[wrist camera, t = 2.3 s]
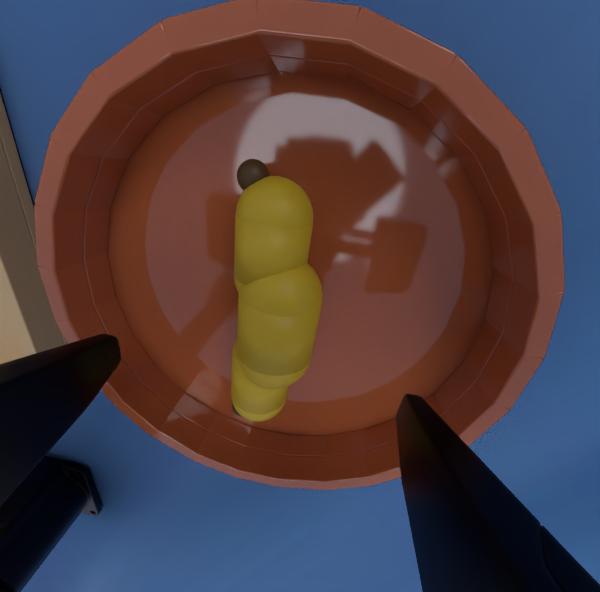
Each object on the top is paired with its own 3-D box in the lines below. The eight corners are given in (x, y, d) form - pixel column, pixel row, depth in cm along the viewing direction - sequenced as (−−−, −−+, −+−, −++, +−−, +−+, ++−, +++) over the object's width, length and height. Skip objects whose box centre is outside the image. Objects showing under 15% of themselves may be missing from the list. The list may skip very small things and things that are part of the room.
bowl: (418, 460, 16) (436, 522, 13) (133, 400, 17) (93, 445, 14) (610, 89, 8) (756, 44, 5) (61, 25, 9) (-61, -41, 7)
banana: (302, 403, 15) (293, 459, 12) (240, 390, 15) (216, 442, 12) (345, 172, 10) (348, 171, 7) (250, 158, 10) (213, 152, 7)
